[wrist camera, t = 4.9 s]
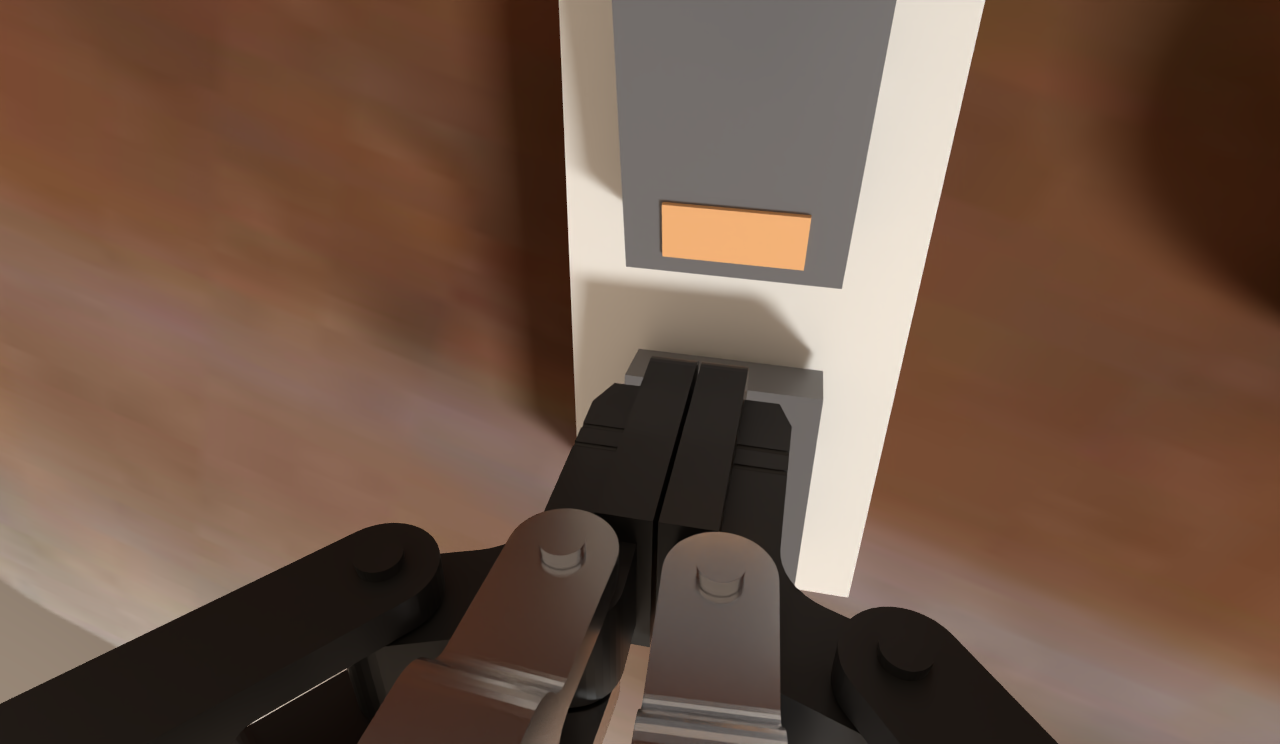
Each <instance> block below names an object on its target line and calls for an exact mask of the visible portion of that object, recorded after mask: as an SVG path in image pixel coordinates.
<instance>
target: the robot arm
mask: <svg viewBox="0 0 1280 744" xmlns="http://www.w3.org/2000/svg"><path fill="white" fill-rule="evenodd" d="M748 379H749V367H744V366H736V365H728V364H720V363H712V362H704V361H702V363H701V366H699V361H694V360H686V359H678V358H669V357H661V356H652V357H651V358H650V361H649V363H648V366H647V369H646V372H645V374H644V377H643V380H642V382H641V385H640V386H635V385H627V384H619V383H614V384H613V385H611V386H610V387H609V388H608V389H606V390H605V391H604V392H603V393H602V394H600V395H599V396H598V397H597V398H595V399H594V400H593V401H592V404H591V406H590V408H589V410H588V413H587V415H586V417H585V420H584V422H583V427H581V429H580V431H579V433H578V436H577V438H576V440H575V445H574V446H573V447H572V449H571V451H570V454H569V456H568V458H567V461H566V463H565V465H564V467H563V470H562V472H561V474H560V476H559V479H558V481H557V483H556V486H555V488H554V490H553V492H552V495H551V497H550V499H549V501H548V504H547V506H546V508H545V511H544V512H542V513H539V514H536V515H534V516H532V517H530V518H528V519H527V520H525V521H524V522H523V523H521V524H520V525H519V526H518V527H517V528H516V529H515V530H514V532H513V533H512V534H511V536H510V537H509V539H508V541H507V543H506V544H504V545H501V546H497V547H494V548H489V549H483V550H474V551H463V552H453V553H443V554H440V551H439V548H438V545H437V543H436V541H435V540H434V538H433V537H432V536H431V535H430V534H429V533H428V532H426V531H424V530H423V529H421V528H418V527H416V526H413V525H409V524H403V523H385V524H379V525H374V526H371V527H368V528H365V529H362V530H360V531H357V532H355V533H353V534H351V535H349V536H347V537H345V538H343V539H341V540H338V541H336V542H334V543H332V544H330V545H328V546H326V547H324V548H322V549H320V550H318V551H316V552H314V553H312V554H310V555H307V556H305V557H303V558H301V559H299V560H297V561H295V562H293V563H291V564H289V565H287V566H285V567H283V568H281V569H278V570H276V571H274V572H272V573H270V574H268V575H266V576H264V577H262V578H260V579H258V580H256V581H254V582H252V583H249V584H247V585H245V586H243V587H241V588H239V589H237V590H235V591H233V592H231V593H229V594H227V595H225V596H223V597H221V598H218V599H216V600H214V601H212V602H210V603H208V604H206V605H204V606H202V607H200V608H198V609H196V610H194V611H192V612H189V613H187V614H185V615H183V616H181V617H179V618H177V619H175V620H173V621H171V622H169V623H167V624H165V625H163V626H160V627H158V628H156V629H154V630H152V631H150V632H148V633H146V634H144V635H142V636H140V637H138V638H136V639H134V640H132V641H129V642H127V643H125V644H123V645H121V646H119V647H117V648H115V649H113V650H111V651H109V652H107V653H105V654H103V655H100V656H98V657H97V658H94V659H92V660H90V661H88V662H86V663H84V664H82V665H80V666H78V667H76V668H74V669H72V670H70V671H67V672H65V673H64V674H61V675H59V676H57V677H55V678H53V679H51V680H49V681H47V682H45V683H43V684H40V685H39V686H36V687H34V688H32V689H30V690H28V691H26V692H24V693H22V694H20V695H18V696H16V697H14V698H11V699H9V700H8V701H5V702H3V703H1V704H0V744H602V742H603V739H604V737H605V734H606V731H607V728H608V725H609V722H610V720H611V717H612V714H613V711H614V708H615V705H616V703H617V700H618V696H619V692H620V679H621V676H622V674H623V671H624V667H625V663H626V660H627V656H628V652H629V648H630V644H635V645H641V646H646V647H650V643H651V648H650V655H649V662H648V669H647V676H646V682H645V689H644V696H643V702H642V707H641V709H638V712H637V716H636V720H635V726H634V731H633V738H632V744H1058V743H1057V742H1056V741H1055V740H1054V739H1053V738H1052V737H1051V736H1050V735H1049V734H1048V733H1047V732H1046V731H1045V730H1044V729H1043V728H1042V727H1041V726H1040V725H1039V723H1038V722H1037V721H1036V720H1035V719H1034V718H1033V717H1032V716H1031V715H1030V714H1029V713H1028V712H1027V711H1026V710H1025V709H1024V708H1023V707H1022V706H1021V705H1020V704H1019V703H1018V702H1017V701H1016V700H1015V699H1014V698H1013V697H1012V696H1011V695H1010V694H1009V693H1008V692H1007V691H1006V689H1005V688H1004V687H1003V686H1002V685H1001V684H1000V683H999V682H998V681H997V680H996V679H995V678H994V677H993V676H992V675H991V674H990V673H989V672H988V671H987V670H986V669H985V668H984V667H983V666H982V665H981V664H980V663H979V662H978V661H977V660H976V659H975V658H974V657H973V655H972V654H971V653H970V652H969V651H968V650H967V649H966V648H965V647H964V646H963V645H962V644H961V643H960V642H959V641H958V640H957V639H956V638H955V637H954V636H953V635H952V634H951V633H950V632H949V631H948V630H947V629H945V628H944V627H943V626H941V625H940V624H939V623H937V622H936V621H934V620H932V619H930V618H929V617H927V616H925V615H922V614H920V613H917V612H915V611H912V610H908V609H904V608H897V607H877V608H871V609H868V610H865V611H862V612H860V613H859V614H857V615H855V616H854V617H852V618H851V619H849V618H847V617H845V616H843V615H840V614H838V613H836V612H834V611H831V610H829V609H827V608H825V607H823V606H821V605H819V604H817V603H815V602H814V601H812V600H811V599H809V598H808V597H807V596H805V595H804V594H803V593H802V592H801V591H800V590H798V589H797V588H796V586H795V585H794V584H793V583H792V582H791V580H790V579H789V577H788V576H787V574H786V572H785V570H784V567H783V565H782V561H781V550H780V549H781V538H782V527H783V516H784V506H785V495H786V484H787V473H788V463H789V452H790V441H791V430H792V426H791V424H790V423H789V421H788V419H787V417H786V415H785V413H784V411H783V409H782V407H781V406H780V404H776V403H768V402H760V401H752V400H746V399H747V389H748ZM651 639H652V641H651ZM346 668H347V670H345V671H344V672H342V673H340V674H338V675H337V676H335V677H333V678H332V679H330V680H328V681H326V682H325V683H323V684H321V685H319V686H318V687H316V688H314V689H312V690H311V691H309V692H307V693H305V694H304V695H302V696H300V697H298V698H297V699H295V700H293V701H291V702H290V703H288V704H286V705H284V706H283V707H281V708H279V709H278V710H276V711H274V712H272V713H271V714H269V715H267V716H265V717H264V718H262V719H260V720H258V721H257V722H255V723H253V724H251V723H252V722H254V721H255V720H257V719H259V718H261V717H262V716H264V715H266V714H268V713H269V712H271V711H273V710H275V709H276V708H278V707H280V706H281V705H283V704H285V703H287V702H288V701H290V700H292V699H294V698H295V697H297V696H299V695H301V694H302V693H304V692H306V691H308V690H309V689H311V688H313V687H315V686H316V685H318V684H320V683H322V682H323V681H325V680H327V679H329V678H330V677H332V676H334V675H336V674H337V673H339V672H341V671H343V670H344V669H346ZM249 724H251V725H249ZM248 725H249V726H248ZM247 726H248V727H247Z"/></svg>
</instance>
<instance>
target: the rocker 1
mask: <svg viewBox="0 0 1280 744" xmlns="http://www.w3.org/2000/svg"><path fill="white" fill-rule="evenodd" d="M896 1H897V0H612V14H613V33H614V51H615V70H616V89H617V108H618V126H619V145H620V164H621V183H622V201H623V220H624V239H625V258H626V267H634V268H644V269H654V270H663V271H673V272H682V273H692V274H702V275H711V276H721V277H730V278H740V279H749V280H759V281H769V282H778V283H788V284H797V285H807V286H817V287H826V288H836V289H842V285H843V280H844V275H845V270H846V264H847V259H848V254H849V249H850V243H851V238H852V233H853V227H854V222H855V217H856V212H857V206H858V201H859V196H860V191H861V185H862V180H863V175H864V170H865V164H866V159H867V154H868V148H869V143H870V138H871V133H872V127H873V122H874V117H875V112H876V106H877V101H878V96H879V90H880V85H881V80H882V75H883V69H884V64H885V59H886V54H887V48H888V43H889V38H890V33H891V27H892V22H893V17H894V11H895V6H896Z"/></svg>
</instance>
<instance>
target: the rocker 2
mask: <svg viewBox="0 0 1280 744" xmlns="http://www.w3.org/2000/svg"><path fill="white" fill-rule="evenodd" d="M652 356H661V357H669V358H678V359H686V360H694V361H699V366H701V363H702V361H704V362H712V363H720V364H728V365H736V366H744V367H749V379H748V389H747V399H746V400H752V401H760V402H768V403H776V404H780V406H781V407H782V409H783V411H784V413H785V415H786V417H787V419H788V421H789V423H790V424H791V426H792V430H791V441H790V452H789V463H788V473H787V484H786V495H785V506H784V516H783V527H782V538H781V549H780V550H781V561H782V565H783V567H784V570H785V572H786V574H787V576H788V577H789V579H790V580H791V582H792V583H793V584H794V585H795V580H796V574H797V567H798V561H799V554H800V548H801V541H802V535H803V528H804V522H805V516H806V509H807V503H808V496H809V490H810V483H811V477H812V470H813V464H814V457H815V451H816V444H817V438H818V431H819V425H820V419H821V412H822V406H823V371H820V370H811V369H803V368H795V367H786V366H778V365H770V364H762V363H753V362H745V361H737V360H728V359H720V358H712V357H703V356H695V355H687V354H678V353H670V352H662V351H654V350H645V349H638V351H637V353H636V355H635V357H634V359H633V360H632V362H631V364H630V366H629V368H628V370H627V372H626V374H625V383H624V384H627V385H635V386H640V385H641V382H642V380H643V377H644V374H645V372H646V369H647V366H648V363H649V361H650V358H651V357H652Z"/></svg>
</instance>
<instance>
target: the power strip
mask: <svg viewBox="0 0 1280 744" xmlns="http://www.w3.org/2000/svg"><path fill="white" fill-rule="evenodd" d="M984 3H985V0H897V1H896V6H895V11H894V17H893V22H892V27H891V33H890V38H889V43H888V48H887V54H886V59H885V64H884V69H883V75H882V80H881V85H880V90H879V96H878V101H877V106H876V112H875V117H874V122H873V127H872V133H871V138H870V143H869V148H868V154H867V159H866V164H865V170H864V175H863V180H862V185H861V191H860V196H859V201H858V206H857V212H856V217H855V222H854V227H853V233H852V238H851V243H850V249H849V254H848V259H847V264H846V270H845V275H844V280H843V285H842V289H836V288H826V287H817V286H807V285H797V284H788V283H778V282H769V281H759V280H749V279H740V278H730V277H721V276H711V275H702V274H692V273H682V272H673V271H663V270H654V269H644V268H634V267H626V258H625V239H624V220H623V201H622V183H621V164H620V145H619V126H618V108H617V89H616V70H615V51H614V33H613V14H612V0H559V18H560V42H561V67H562V91H563V115H564V140H565V164H566V188H567V213H568V237H569V261H570V286H571V310H572V334H573V359H574V383H575V407H576V432H577V436H578V433H579V431H580V429H581V427H583V422H584V420H585V417H586V415H587V413H588V410H589V408H590V406H591V404H592V401H593V400H594V399H595V398H597V397H598V396H599V395H600V394H602V393H603V392H604V391H605V390H606V389H608V388H609V387H610V386H611V385H613V384H614V383H619V384H624V383H625V374H626V372H627V370H628V368H629V366H630V364H631V362H632V360H633V359H634V357H635V355H636V353H637V351H638V349H645V350H654V351H662V352H670V353H678V354H687V355H695V356H703V357H712V358H720V359H728V360H737V361H745V362H753V363H762V364H770V365H778V366H786V367H795V368H803V369H811V370H820V371H823V406H822V412H821V419H820V425H819V431H818V438H817V444H816V451H815V457H814V464H813V470H812V477H811V483H810V490H809V496H808V503H807V509H806V516H805V522H804V528H803V535H802V541H801V548H800V554H799V561H798V567H797V574H796V580H795V586H796V588H797V589H799V590H805V591H811V592H818V593H824V594H830V595H836V596H842V597H848V596H849V592H850V587H851V583H852V579H853V574H854V570H855V565H856V561H857V557H858V552H859V548H860V544H861V539H862V535H863V531H864V526H865V522H866V518H867V513H868V509H869V504H870V500H871V496H872V491H873V487H874V483H875V478H876V474H877V470H878V465H879V461H880V456H881V452H882V448H883V443H884V439H885V435H886V430H887V426H888V422H889V417H890V413H891V408H892V404H893V400H894V395H895V391H896V387H897V382H898V378H899V374H900V369H901V365H902V360H903V356H904V352H905V347H906V343H907V339H908V334H909V330H910V326H911V321H912V317H913V312H914V308H915V304H916V299H917V295H918V291H919V286H920V282H921V278H922V273H923V269H924V265H925V260H926V256H927V251H928V247H929V243H930V238H931V234H932V230H933V225H934V221H935V217H936V212H937V208H938V203H939V199H940V195H941V190H942V186H943V182H944V177H945V173H946V169H947V164H948V160H949V155H950V151H951V147H952V142H953V138H954V134H955V129H956V125H957V121H958V116H959V112H960V107H961V103H962V99H963V94H964V90H965V86H966V81H967V77H968V73H969V68H970V64H971V59H972V55H973V51H974V46H975V42H976V38H977V33H978V29H979V25H980V20H981V16H982V12H983V7H984Z"/></svg>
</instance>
